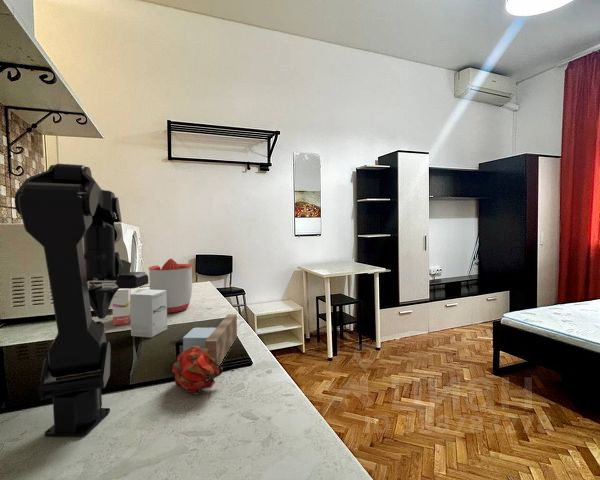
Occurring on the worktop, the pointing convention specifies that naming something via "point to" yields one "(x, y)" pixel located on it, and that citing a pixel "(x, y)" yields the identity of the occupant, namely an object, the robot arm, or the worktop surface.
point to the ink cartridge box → (121, 307)
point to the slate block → (197, 337)
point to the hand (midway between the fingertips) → (102, 318)
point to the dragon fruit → (195, 369)
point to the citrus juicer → (173, 283)
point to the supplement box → (148, 313)
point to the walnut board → (222, 338)
